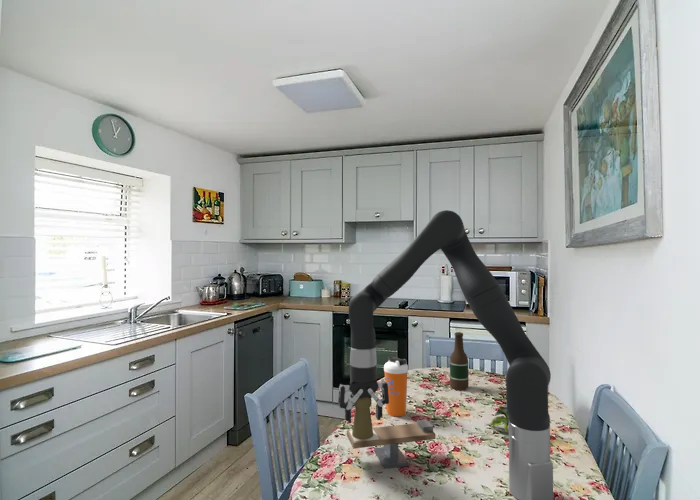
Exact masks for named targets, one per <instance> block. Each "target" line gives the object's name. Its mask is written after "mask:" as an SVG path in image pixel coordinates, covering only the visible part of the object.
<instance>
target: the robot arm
mask: <svg viewBox="0 0 700 500" xmlns="http://www.w3.org/2000/svg"><path fill="white" fill-rule="evenodd" d="M439 250H441V251H442V253H443V255H444V256H445V258H446V259H447V260H448V262H449V263H450V265H451V267H452V269H453V272H454V273H455V277H456V280H457V282H458V285H459V287H460V289H461V291H462V294H463V296H464V298H465V300H466V302H467V304H468V306H469V308H470V309H471V312H472V313H473V315H474V316H475V318H476V319H477V320H478V322H479V323H480V324H481V326H483V328H484V329H485V330H486V331H487V332H488V333H489V335H491V336H492V337H493V338H494V339H495V341H496V342H497V344H498V345H499V347H500V348H501V350H502V352H503V354H504V357H505V359H506V361H507V362H508V365H509V366H508V368H507V370H506V376H505V391H506V396H505V397H506V399H505V400H506V405H507V410H508V414H509V425H508V477H509V478H508V481H509V486H508V488H509V489H508V490H509V492H510V494H511V495H512V496H513V497H514V498H516V499H517V500H554V463H553V461H551V445H550V444H551V417H550V414H549V385H550V383H551V375H552V374H551V370H550V367H549V365H548V363H547V362H546V360H545V359H544V358H543V357H542V355H541V353H540V352H539V351H538V350H537V348H536V347H535V345H534V344H533V342H532V341H531V340H530V338H529V337H528V336H527V334H526V332H525V331H524V329H523V326H522V325H521V323H520V321H519V319H518V317H517V314H516V313H515V311H514V309H513V307H512V305H511V304H510V302H509V300H508V298H507V296H506V294H505V293H504V291H503V290H502V287H501V285H500V284H499V282H498V281H497V279H496V278H495V277H494V275H493V274H492V272H491V271H490V270H489V268H488V267H487V266H486V265H485V263H484V262H483V261H482V260H481V259H480V257H479V256H478V254H477V253H476V252H475V251H476V250H474V248H473V245H472V243H471V241H470V239H469V237H468V234H467V231H466V228H465V225H464V222H463V220H462V218H461V216H460V215H459V214H458V213H457V212H455V211H453V210H441V211H439V212H437V213H435V214H434V215H433V216H432V217H431V218H430V220H429V221H428V222H427V224H426V225H425V227H424V228H423V229H422V230H421V231H420V232H419V234H418V235H417V236H416V237H415V238H414V240H412V242H410V244H409V245H408V246H407V247H406V248H405V249H403V251H402V252H401V253H400V254H399V255H397V257H395V258H394V259H393V260H392V261H391V262H390V263H389V264H387V265H386V266H385V267H384V268H383V269H382V270H381V271H380V272H379V273H378V274H377V275H376V276H375V277H374V278H373V280H372V281H371V282H370V283H368V284H367V285H366V286H365V287H364V288H363V289H362V290H360V291H359V292H358V293H356V294H354V295H353V296H352V297H351V298H350V300H349V302H348V320H349V326H350V352H349V353H350V354H349V375H350V376H349V378H350V381H349V384H342V383H340V384H339V385H338V399H337V400H338V402H337V404H338V406H339V408H341V409H344V419H345V421H346V422H347V423H348V424H351V423H352V409H351V408H352V407H353V406H354V403H355V402H356V401H357V399H358V398H362V397H368V398H371V399H373V400H374V401H375V403H376V404H375V418H376V420H378V421H381V418H383V406H384V405H386V404H388V403H389V394H388V384H387V383H386V382H385V380H382V381H380V382H378V380H377V379H378V378H377V377H378V376H377V374H378V373H377V372H378V371H377V370H378V367H377V365H378V364H377V360H378V359H377V357H378V356H377V349H376V330H375V328H374V312H375V311H376V310H377V309H378V308H379V307H380V306H381V305H383V303H384V302H386V300H388V299H389V298H390V297H392V296H393V295H394V294H396V293H397V292H398V291H399V290H400V288H402V287H403V286H404V285H406V283H407V282H409V280H411V278H412V277H413V276H414V275H415V273H416V272H417V271H418V270H419V269H420V267H421V266H422V265H423V264H424V263H425V262H426V261H427V260H428V259H429V258H430V257H432V255H434V254H435V253H437V252H438V251H439ZM378 388H379V389H380V390H381V399H380V398H379V397H378V395H377V394H376V393H377V390H378ZM348 391H350V394H349V395H348V398H347V400H346V401H345V396H346V394H347V393H348Z"/></svg>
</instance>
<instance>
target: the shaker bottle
mask: <svg viewBox="0 0 700 500" xmlns="http://www.w3.org/2000/svg"><path fill="white" fill-rule="evenodd" d="M387 360H388V361H387V362H385V364H384V365H383V371H384V381H385V382H386V383H387V384H388V394H389V403H388V404H385V405H386V407H385V409H386V414H387V415H388V416H391V417H396V418H397V417H403V416H405V415H406V413H407V397H408V396H407V393H408V392H407V391H408V390H407V389H408V372H409V366H408V364H407V359H405V358H399V357H396V356H388V357H387Z"/></svg>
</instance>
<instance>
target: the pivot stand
mask: <svg viewBox="0 0 700 500" xmlns="http://www.w3.org/2000/svg"><path fill="white" fill-rule="evenodd" d="M373 451H374V454H375V455H376V457H377V459H378V460H379V462H380V463H381V465H382V466H383V469H384V470H385V469H393V468H401V467H402V468H403V467H409V465H410V464H409V461H408V459H407V458H406V456H405V455H404V454H403V452H402V451H401V450H400V448H399V443H398V444H389V445H383V446H382V447H381V446H378V447H374V449H373Z"/></svg>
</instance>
